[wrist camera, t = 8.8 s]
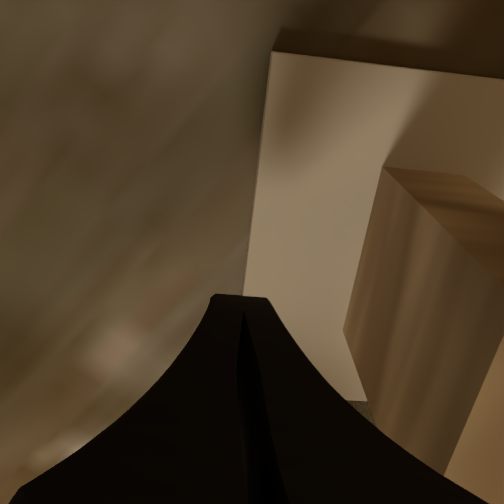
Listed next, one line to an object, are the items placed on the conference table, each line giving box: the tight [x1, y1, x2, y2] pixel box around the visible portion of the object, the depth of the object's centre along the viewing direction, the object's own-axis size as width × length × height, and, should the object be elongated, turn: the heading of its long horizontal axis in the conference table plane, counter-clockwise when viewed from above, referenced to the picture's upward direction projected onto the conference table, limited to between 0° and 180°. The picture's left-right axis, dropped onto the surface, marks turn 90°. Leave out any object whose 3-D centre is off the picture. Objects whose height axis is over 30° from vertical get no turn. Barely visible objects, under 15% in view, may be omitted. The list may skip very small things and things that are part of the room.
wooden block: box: [343, 167, 504, 504], centre depth 12 cm, size 3×6×8 cm, turn 173°
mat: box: [241, 51, 504, 401], centre depth 16 cm, size 14×12×1 cm
